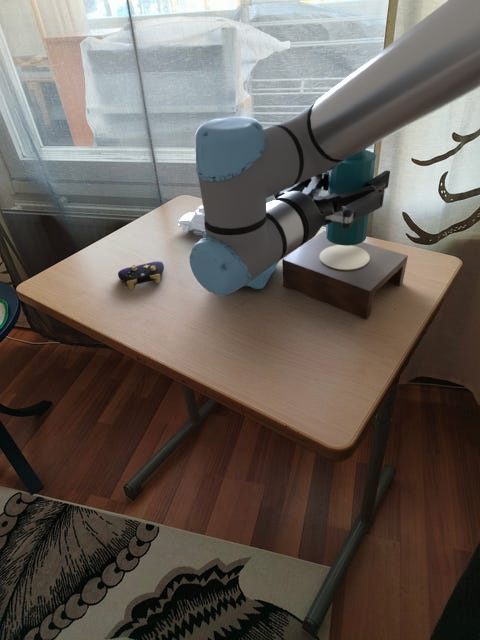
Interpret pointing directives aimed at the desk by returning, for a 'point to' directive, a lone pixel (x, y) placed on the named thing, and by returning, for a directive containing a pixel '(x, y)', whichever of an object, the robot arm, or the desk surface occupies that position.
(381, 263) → the dark brown wooden block
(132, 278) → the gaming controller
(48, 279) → the desk surface
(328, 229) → the bottle
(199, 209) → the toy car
